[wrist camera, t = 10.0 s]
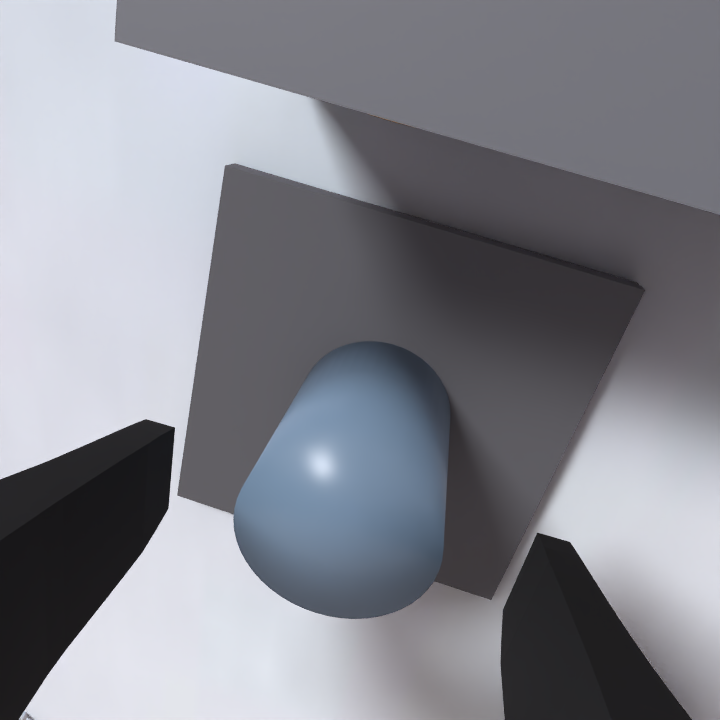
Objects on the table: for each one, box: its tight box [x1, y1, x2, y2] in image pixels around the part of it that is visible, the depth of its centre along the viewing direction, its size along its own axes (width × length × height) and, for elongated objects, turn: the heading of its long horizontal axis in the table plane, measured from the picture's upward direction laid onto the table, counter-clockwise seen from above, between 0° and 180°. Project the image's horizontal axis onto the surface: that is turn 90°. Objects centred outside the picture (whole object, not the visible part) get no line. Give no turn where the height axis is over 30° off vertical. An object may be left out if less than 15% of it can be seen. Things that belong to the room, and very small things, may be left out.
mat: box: [177, 164, 645, 600], centre depth 16 cm, size 10×10×1 cm
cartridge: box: [234, 341, 450, 619], centre depth 13 cm, size 4×4×5 cm
